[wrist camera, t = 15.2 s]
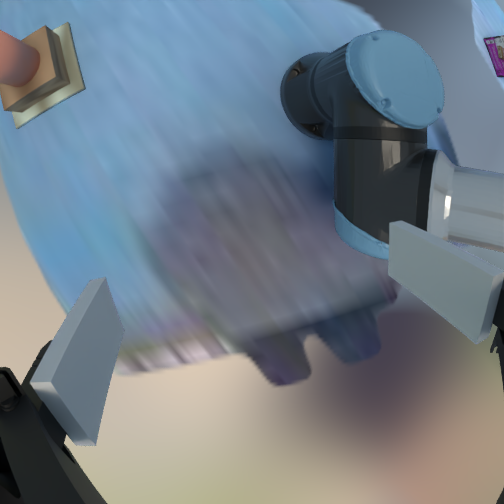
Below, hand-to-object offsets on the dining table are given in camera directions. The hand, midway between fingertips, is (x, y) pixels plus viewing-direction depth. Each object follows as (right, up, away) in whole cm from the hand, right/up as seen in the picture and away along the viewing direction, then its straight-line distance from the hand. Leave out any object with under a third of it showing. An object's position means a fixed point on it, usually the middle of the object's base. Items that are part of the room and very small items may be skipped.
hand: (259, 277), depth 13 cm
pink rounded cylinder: (-34, +28, +15) cm, 46 cm away
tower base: (-35, +30, +22) cm, 51 cm away
